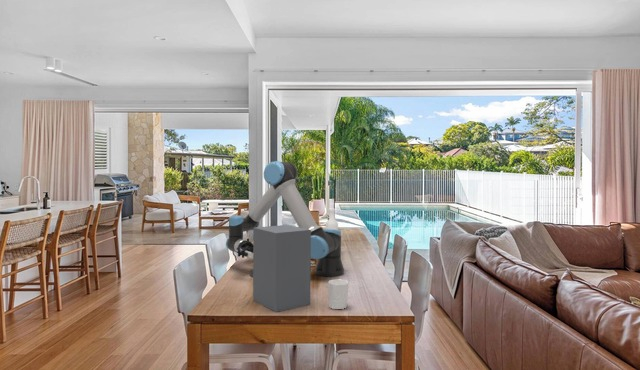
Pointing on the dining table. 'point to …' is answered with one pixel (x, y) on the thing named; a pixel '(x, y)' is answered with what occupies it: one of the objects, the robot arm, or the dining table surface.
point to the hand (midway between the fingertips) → (264, 254)
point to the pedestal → (281, 267)
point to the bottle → (332, 220)
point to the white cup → (338, 293)
